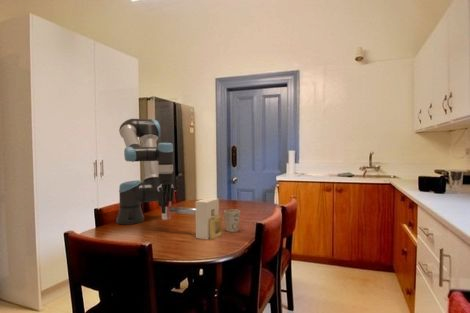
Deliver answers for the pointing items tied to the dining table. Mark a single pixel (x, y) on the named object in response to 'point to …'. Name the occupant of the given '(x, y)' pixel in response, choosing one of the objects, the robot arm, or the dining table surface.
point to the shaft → (178, 210)
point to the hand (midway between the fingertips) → (166, 218)
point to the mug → (232, 219)
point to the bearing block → (205, 216)
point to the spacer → (212, 227)
